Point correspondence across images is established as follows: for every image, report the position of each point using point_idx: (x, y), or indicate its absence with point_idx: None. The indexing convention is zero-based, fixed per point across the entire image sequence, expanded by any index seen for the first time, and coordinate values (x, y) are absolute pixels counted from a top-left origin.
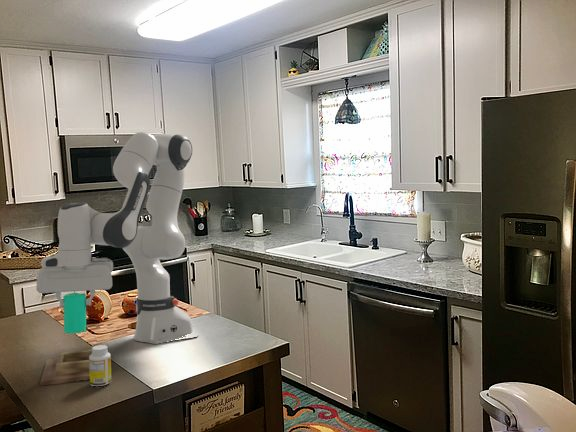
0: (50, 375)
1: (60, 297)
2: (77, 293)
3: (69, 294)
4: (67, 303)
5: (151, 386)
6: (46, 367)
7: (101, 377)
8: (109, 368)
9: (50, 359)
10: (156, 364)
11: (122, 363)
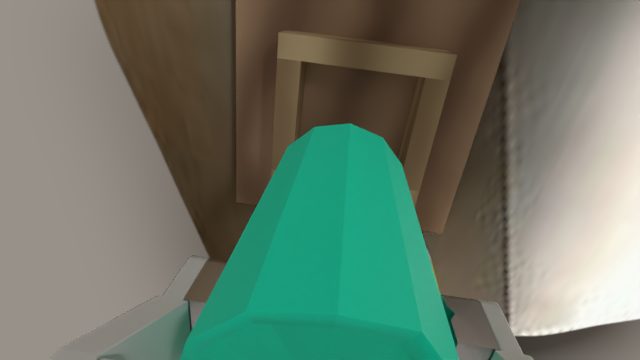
0: (261, 168)
1: (144, 356)
2: (368, 332)
3: (244, 326)
4: None
5: (513, 325)
6: (241, 76)
7: None
8: None
9: None
10: (627, 184)
11: (523, 114)
